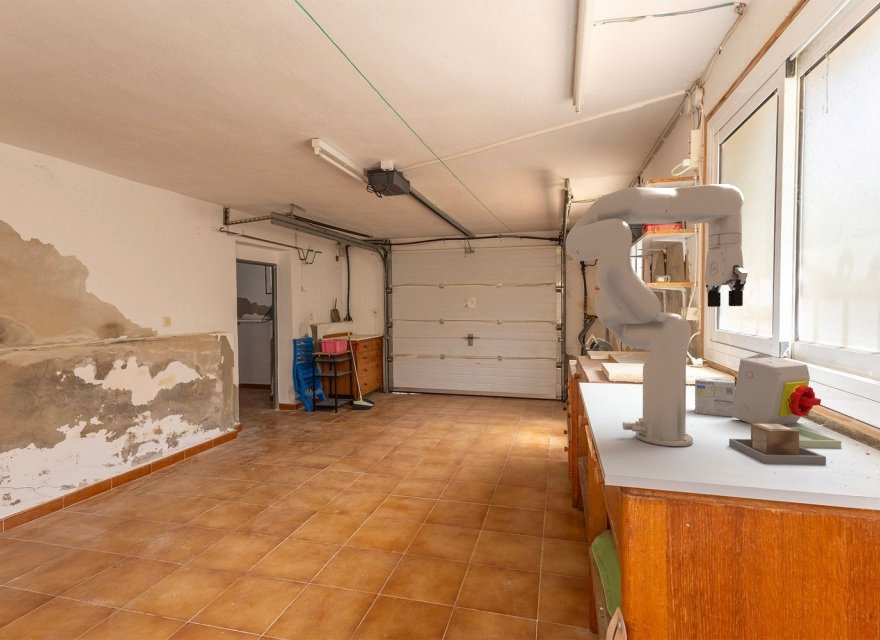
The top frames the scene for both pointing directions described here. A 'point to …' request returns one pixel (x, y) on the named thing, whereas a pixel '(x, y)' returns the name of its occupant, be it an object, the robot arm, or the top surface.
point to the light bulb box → (714, 396)
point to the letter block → (774, 439)
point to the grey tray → (802, 458)
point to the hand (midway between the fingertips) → (724, 306)
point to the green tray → (815, 439)
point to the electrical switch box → (772, 391)
